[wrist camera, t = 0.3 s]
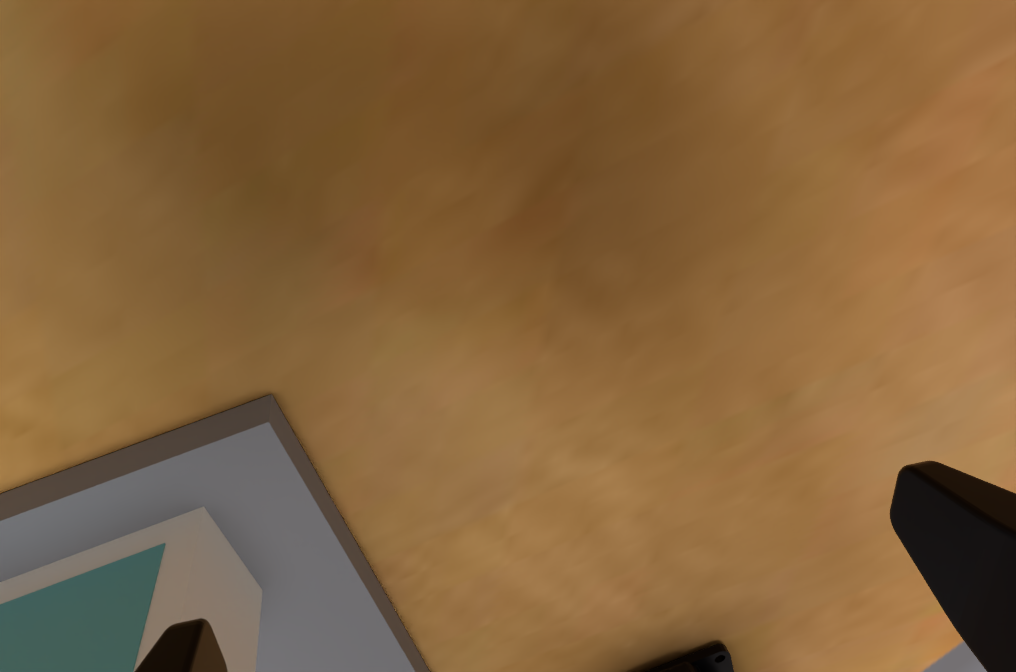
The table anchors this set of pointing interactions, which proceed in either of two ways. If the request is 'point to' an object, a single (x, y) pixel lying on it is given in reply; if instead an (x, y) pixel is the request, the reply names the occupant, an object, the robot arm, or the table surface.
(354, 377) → the table surface
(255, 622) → the carton
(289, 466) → the shelf board
